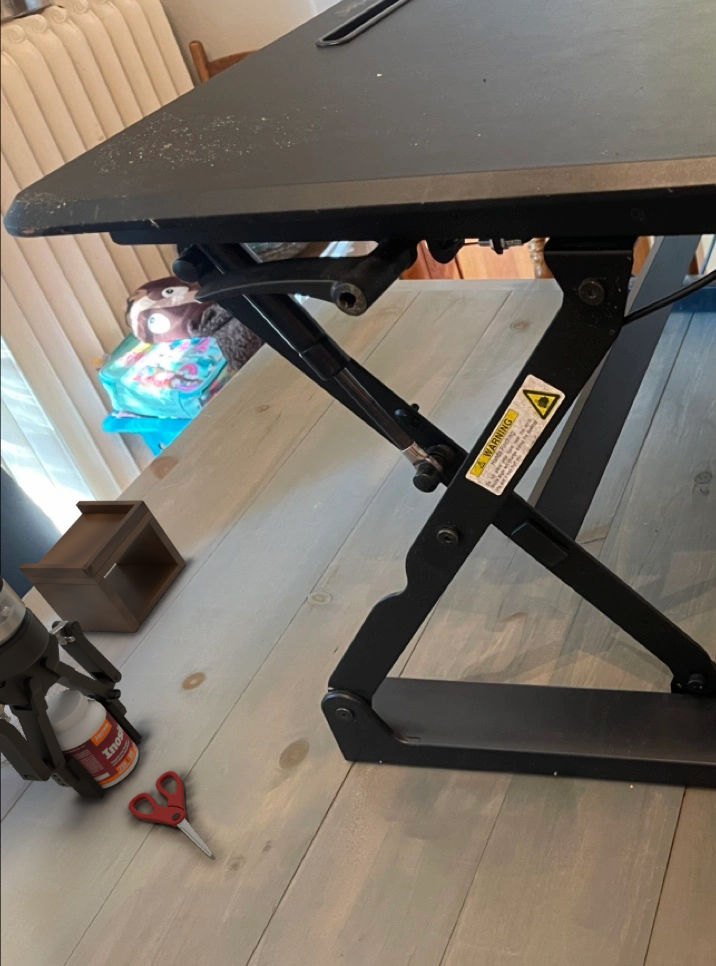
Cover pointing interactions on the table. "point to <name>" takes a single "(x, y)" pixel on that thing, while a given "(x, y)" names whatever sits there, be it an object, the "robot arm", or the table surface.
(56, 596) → the shelf
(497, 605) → the table surface
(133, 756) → the pill bottle
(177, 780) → the scissors
